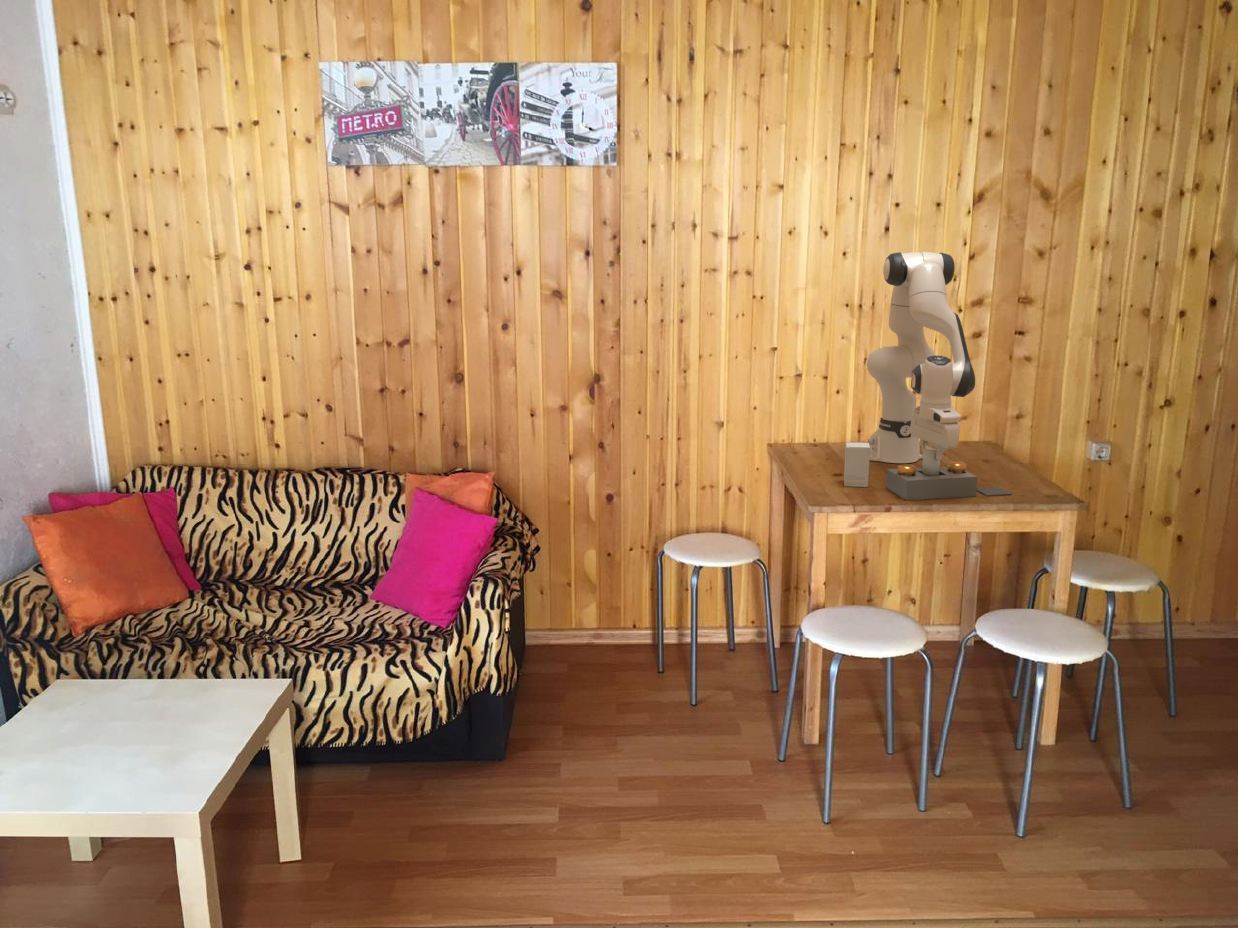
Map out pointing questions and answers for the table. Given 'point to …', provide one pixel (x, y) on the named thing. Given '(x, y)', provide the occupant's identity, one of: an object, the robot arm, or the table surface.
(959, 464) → the plunger
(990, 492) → the mat
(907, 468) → the plunger
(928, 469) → the block
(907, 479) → the block
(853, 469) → the supplement box
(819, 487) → the table surface
